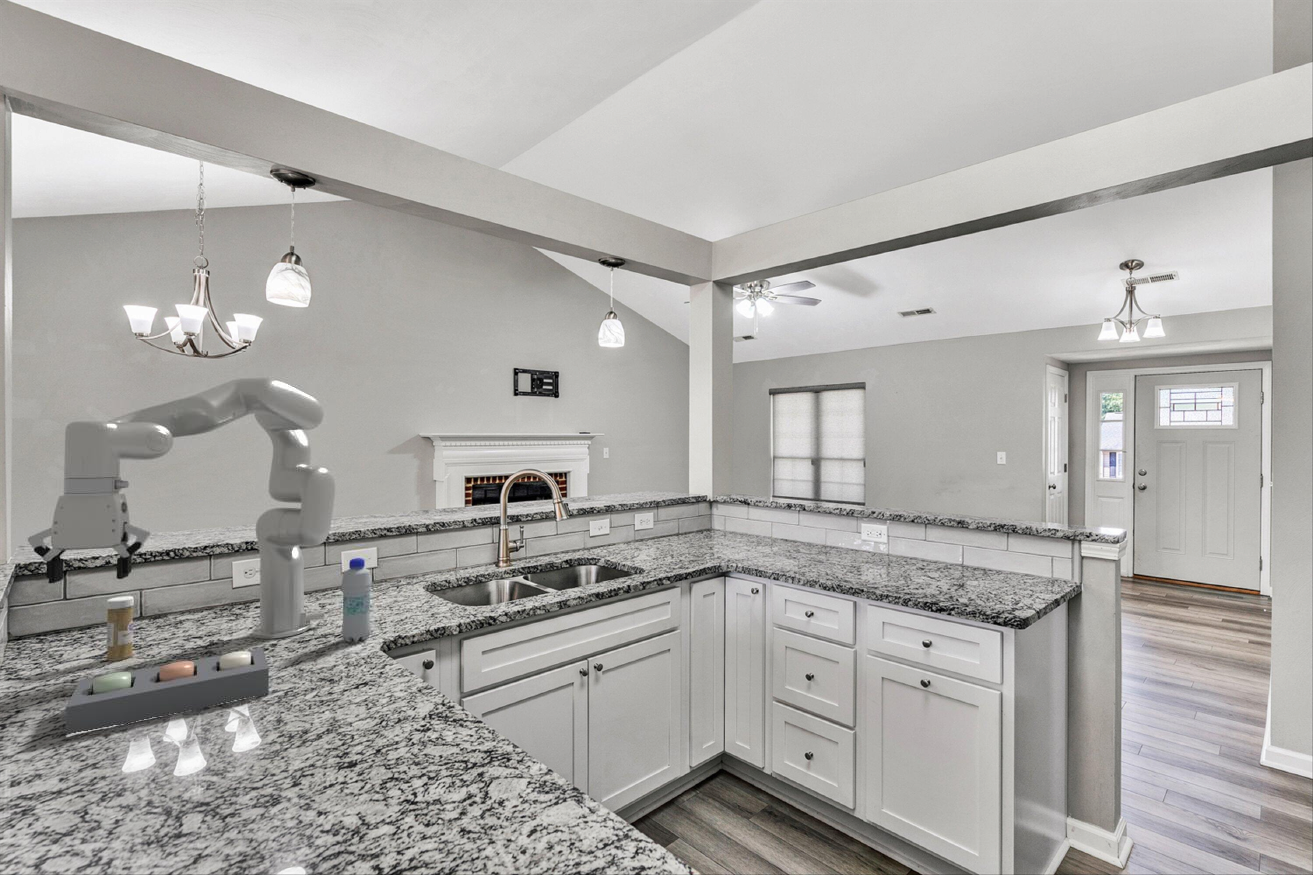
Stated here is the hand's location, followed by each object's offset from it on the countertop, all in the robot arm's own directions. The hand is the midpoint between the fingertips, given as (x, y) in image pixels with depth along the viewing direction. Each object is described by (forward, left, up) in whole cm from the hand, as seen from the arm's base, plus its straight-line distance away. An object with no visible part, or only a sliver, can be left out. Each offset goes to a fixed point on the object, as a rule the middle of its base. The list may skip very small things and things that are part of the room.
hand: (89, 579), depth 111 cm
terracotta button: (-13, +8, -20) cm, 25 cm away
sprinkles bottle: (-2, -28, -23) cm, 36 cm away
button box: (-13, +8, -23) cm, 28 cm away
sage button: (-4, +8, -20) cm, 22 cm away
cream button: (-22, +8, -20) cm, 31 cm away
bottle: (-47, -10, -23) cm, 53 cm away
